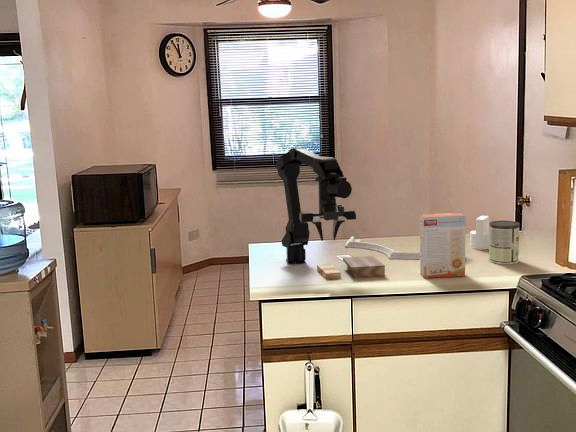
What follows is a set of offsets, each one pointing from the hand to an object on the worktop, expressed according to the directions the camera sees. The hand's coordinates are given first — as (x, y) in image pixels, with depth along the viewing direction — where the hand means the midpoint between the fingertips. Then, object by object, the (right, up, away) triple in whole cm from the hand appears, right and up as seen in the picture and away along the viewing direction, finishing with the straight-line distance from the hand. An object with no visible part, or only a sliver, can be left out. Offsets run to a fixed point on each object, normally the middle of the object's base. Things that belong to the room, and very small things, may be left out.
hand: (328, 240), depth 210 cm
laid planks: (+13, -11, +4) cm, 18 cm away
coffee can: (+65, -8, +12) cm, 66 cm away
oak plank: (0, -12, +2) cm, 12 cm away
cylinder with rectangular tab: (+64, -4, +35) cm, 73 cm away
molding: (+24, -6, +36) cm, 43 cm away
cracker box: (+38, -12, -4) cm, 40 cm away
